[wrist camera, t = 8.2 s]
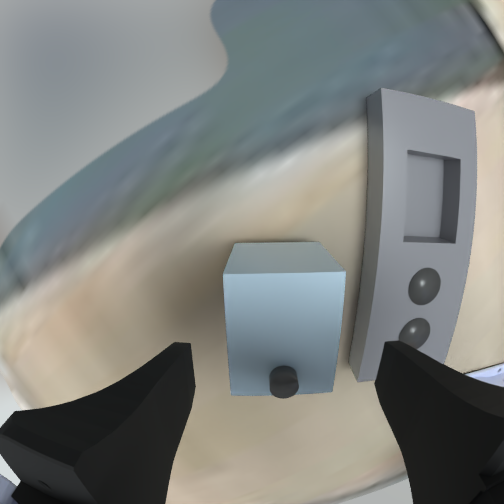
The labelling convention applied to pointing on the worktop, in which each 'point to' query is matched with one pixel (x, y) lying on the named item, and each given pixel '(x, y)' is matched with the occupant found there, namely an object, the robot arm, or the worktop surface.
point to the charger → (282, 318)
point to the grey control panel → (414, 226)
